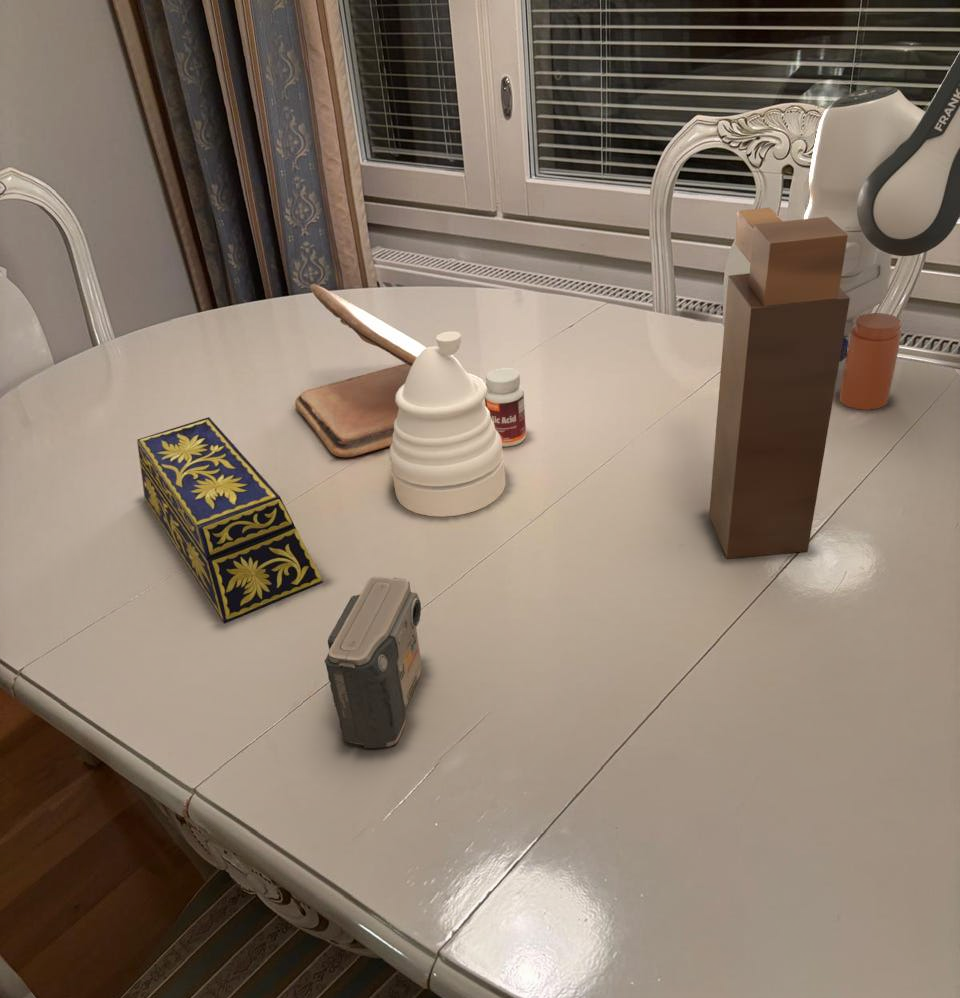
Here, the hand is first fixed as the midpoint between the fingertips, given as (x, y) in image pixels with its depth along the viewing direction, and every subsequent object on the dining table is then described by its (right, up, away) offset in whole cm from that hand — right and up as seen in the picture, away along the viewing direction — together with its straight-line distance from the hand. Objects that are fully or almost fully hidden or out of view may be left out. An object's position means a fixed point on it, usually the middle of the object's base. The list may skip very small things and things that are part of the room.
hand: (821, 358), depth 117 cm
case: (-56, -6, +6) cm, 57 cm away
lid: (0, +1, -1) cm, 2 cm away
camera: (-52, -42, -38) cm, 77 cm away
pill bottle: (-40, -11, -3) cm, 42 cm away
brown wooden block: (-18, -4, -37) cm, 41 cm away
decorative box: (-72, -25, -15) cm, 78 cm away
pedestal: (-16, -25, -24) cm, 38 cm away
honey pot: (-47, -19, -11) cm, 52 cm away
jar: (+4, -6, -4) cm, 9 cm away
